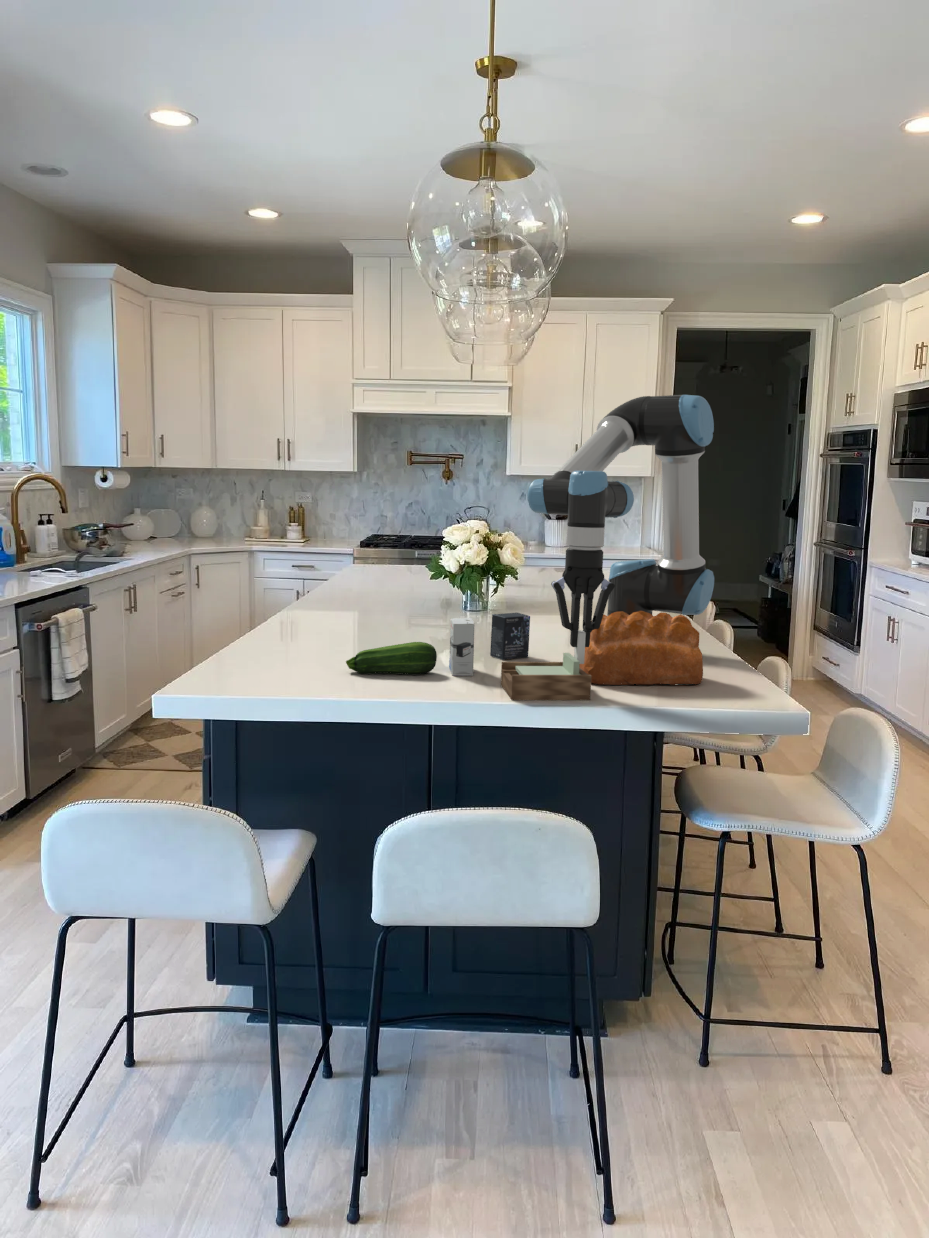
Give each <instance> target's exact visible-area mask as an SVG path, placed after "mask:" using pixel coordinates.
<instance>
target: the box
mask: <svg viewBox="0 0 929 1238" xmlns="http://www.w3.org/2000/svg"><path fill="white" fill-rule="evenodd" d="M530 625H531V616H530V615H528V614H524V613H522V612H521V613H520V612H507V613H492V615H491V631H490V652H489V654H490V657H493V658H495V659H499V660H502V661H505V660H512V659H513V660H514V659H524V658H525V659H526V658H527V659H528V658H529V649H530V648H529V647H530V646H529V645H530V631H531V630H530V628H531V626H530Z"/></svg>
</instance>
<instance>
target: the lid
mask: <svg viewBox="0 0 929 1238" xmlns="http://www.w3.org/2000/svg"><path fill="white" fill-rule="evenodd" d="M562 654H563V656H562V662H563V666H515V670H516V671H517V672H518V673H519V675H581V674H580V673H579V663H580V662H579V661H578V660H577V659H576V658H575V657H574V655H572V654H571V653H570V652H563V653H562Z"/></svg>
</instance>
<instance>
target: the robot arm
mask: <svg viewBox="0 0 929 1238" xmlns="http://www.w3.org/2000/svg"><path fill="white" fill-rule="evenodd" d="M714 426H715V422H714V416H713V411H712V408H711V405H710V404H709V402H708V400H706V398H704V397H703V396H701V395H693V394H692V395H691V394H671V395H652V396H650V395H645V396H644V395H643V396H638V397H634V398H633V399H629V400H627V401H625V402H624V403H622V404H620V405H619V406H617V407H615V408H614V409H612V410H611V411H610V412H609V413H607V414H606V415H605V416H604V417H603V418H602V419H601V420H600V421H599V423H597V427H596V430H595V432H594V433H593V434H592V435H591V436H590V437H589V438H588V439H587V440H586V441H585V442H584V443H583V444H582V446H580V448H579V449H577V450H576V451H575V452H574V453H573V455H571V456H570V457H569V458H568V459H567V460H566V461H565V463H564V464H562V465H561V467H560V468H558V470H557V471H556V472H554V474H553V475H552V476H551V477H550V478H537V479H534V480H533V481H532V482H531V483H530V484H529V487H528V490H527V501H528V506H529V508H530V510H531V511H532V512H533V513H537V514H544V515H547V516H549V515H555V516H556V515H558V516H567V526H566V543H565V544H566V546H568V547H567V549H565V559H564V560H565V562H564V563H565V564H564V571H563V573H562V576H561V577H560V578H558V579H557V580H556V581H555V580H553V581H551V584H550V585H551V587H552V588H553V591H554V592H555V595H556V600H557V601H556V602H557V606H558V611H559V616H560V621H561V625H562V627H563V628H565V629H567V630H569V631H570V636H569V638H570V639H569V644H570V647H572V648H574V652H573V653H574V654H573V657H575V658H576V659H577V660H578V661H579V662H580V663H579V664H584V657H585V647H589V645H590V633H591V632H592V630H594V629H599V628H600V625H601V621H602V618H603V615H605V611H606V607H607V615H606V616H609V615H610V614H611V613H614V612H621V611H623V612H625V613H627V614H628V615H630V614H632V613H633V612H638V611H644V612H647V613H650V614H652V615H653V612H660V613H668V614H676V615H677V614H678V615H683V616H686V615H687V616H688V615H691V616H692V615H693V616H698V615H701V614H702V613H704V612H705V610H706V609H707V608H708V606H709V604H710V603H711V602H710V601H711V599H712V596H713V591H714V587H715V575H714V571H713V570H710V569H708V568H706V560H705V558H703V556H701V555H700V524H699V523H700V521H699V519H700V517H699V516H700V513H699V511H700V510H699V508H700V507H699V501H700V500H699V498H700V497H699V459H700V457H701V456H702V455H704V454H705V452H706V450H705V447H706V446H709V445H710V444H711V443H712V441H713V437H714V434H713V433H714V431H715V427H714ZM635 446H654V456H656V457H657V458H658V459H659V460H660V461H661V483H662V484H661V492H662V493H661V494H662V531H663V532H662V533H663V534H662V536H663V556H661V558H660V559H659V560H658V561H657V562H656V560H655V559H649V558H648V559H647V558H646V559H635V560H634V559H633V560H624V561H623V560H621V561H615V562H613V563H612V564H611V566H610V570H609V576H608V580H607V579H606V578H605V574H604V571H603V565H604V551H603V549H602V548H603V547H604V546H605V530H606V529H605V526H606V518H611V519H612V518H614V519H616V518H619V517H622V516H625V515H627V514H628V513H629V512H630V511H631V509H632V508H633V506H634V501H635V496H634V492H633V490H632V489H631V487H630V486H629V485H628V484H626V483H625V482H623V481H619V480H609V481H608V475H607V472H605V470H606V468H607V467H608V466H609V465H610V464H611V463H612V462H613V460H615V458H617V457H618V456H619V454H621V453H626V452H627V451H629V450H630V449H631V448H632V447H635ZM565 585H566V586H567V588H568V589H569V591H570V592H571V593H570V596H571V603H570V604H571V607H570V617H569V612H568V611H569V610H568V607H567V601H566V596H565ZM599 587H600V589H601V591H600V592H599V595H598V599H597V603H596V606H595V609H594V613H593V600H594V594H595V592H596V591H597V589H598V588H599ZM582 594H583V606H582V607H583V609H582V611H583V613H582V629H581V630H580V616H581V615H580V614H581V612H580V611H581V610H580V609H581V599H582Z"/></svg>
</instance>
